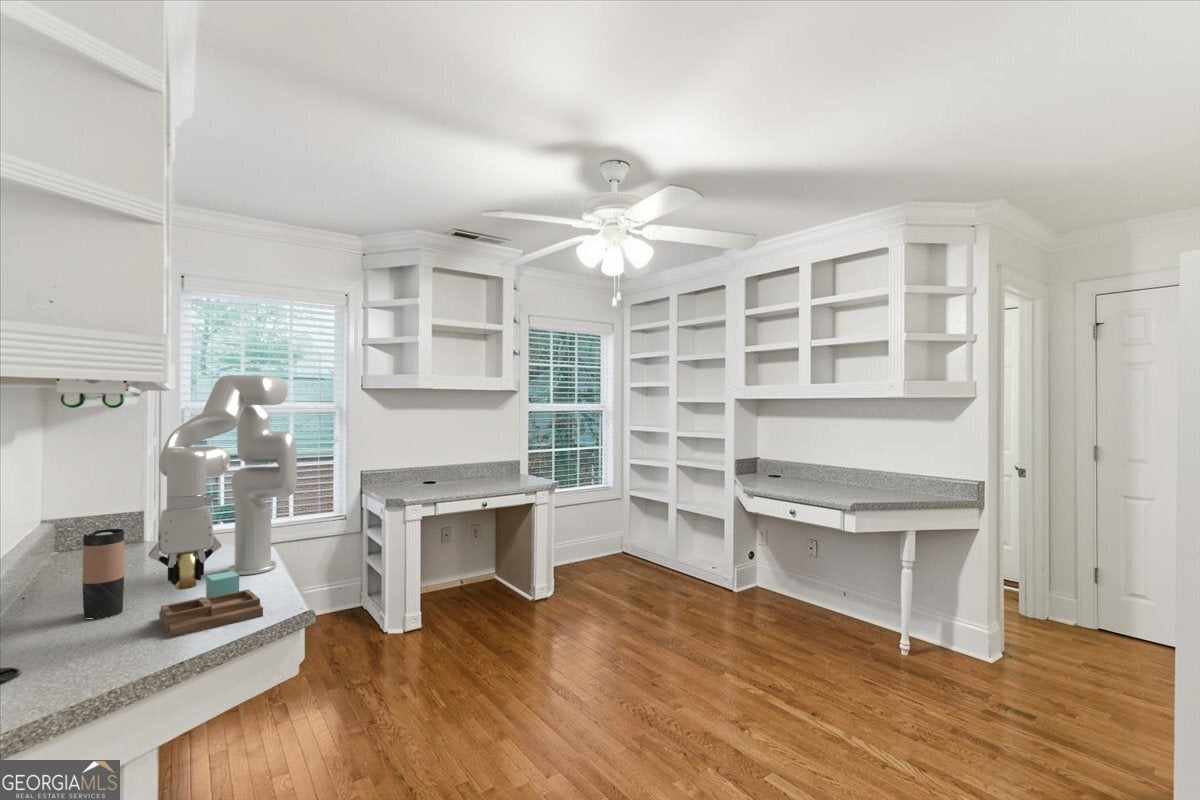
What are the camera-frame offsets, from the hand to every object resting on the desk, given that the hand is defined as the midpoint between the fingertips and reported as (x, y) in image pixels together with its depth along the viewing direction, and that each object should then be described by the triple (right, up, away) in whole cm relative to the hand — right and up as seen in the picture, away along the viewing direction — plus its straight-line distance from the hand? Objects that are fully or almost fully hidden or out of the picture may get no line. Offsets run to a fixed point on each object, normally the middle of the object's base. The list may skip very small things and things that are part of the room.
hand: (185, 580), depth 132 cm
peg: (0, -1, 0) cm, 1 cm away
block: (-3, -10, +17) cm, 20 cm away
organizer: (+3, -10, +4) cm, 11 cm away
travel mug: (-24, -10, +6) cm, 27 cm away
